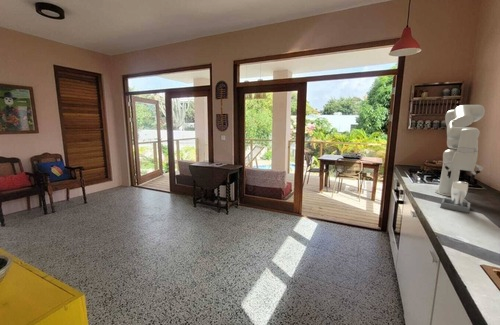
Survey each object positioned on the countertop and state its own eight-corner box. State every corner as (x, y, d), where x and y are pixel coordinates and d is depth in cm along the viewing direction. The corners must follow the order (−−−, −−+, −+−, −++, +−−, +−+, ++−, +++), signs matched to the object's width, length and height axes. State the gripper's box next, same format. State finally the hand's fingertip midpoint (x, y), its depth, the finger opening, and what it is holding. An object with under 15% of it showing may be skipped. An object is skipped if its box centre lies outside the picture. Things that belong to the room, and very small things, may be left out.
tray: (442, 202, 149) (443, 197, 148) (469, 207, 140) (470, 202, 140) (440, 207, 139) (441, 202, 139) (468, 213, 131) (469, 208, 130)
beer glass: (458, 209, 135) (463, 184, 132) (445, 205, 142) (449, 180, 139) (466, 208, 137) (471, 183, 134) (453, 204, 144) (458, 180, 141)
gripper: (487, 151, 130) (480, 181, 134) (446, 147, 142) (441, 175, 146) (487, 153, 125) (480, 183, 129) (445, 149, 137) (440, 177, 140)
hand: (459, 179), depth 137 cm, fingers open, 9 cm apart
